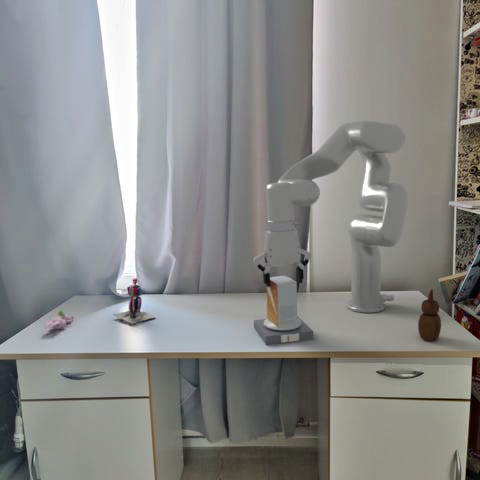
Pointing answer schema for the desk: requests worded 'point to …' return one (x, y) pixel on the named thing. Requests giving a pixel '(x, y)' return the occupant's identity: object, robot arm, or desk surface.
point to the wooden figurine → (429, 319)
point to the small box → (282, 301)
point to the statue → (134, 307)
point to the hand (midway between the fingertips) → (283, 283)
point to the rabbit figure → (59, 321)
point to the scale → (282, 332)
